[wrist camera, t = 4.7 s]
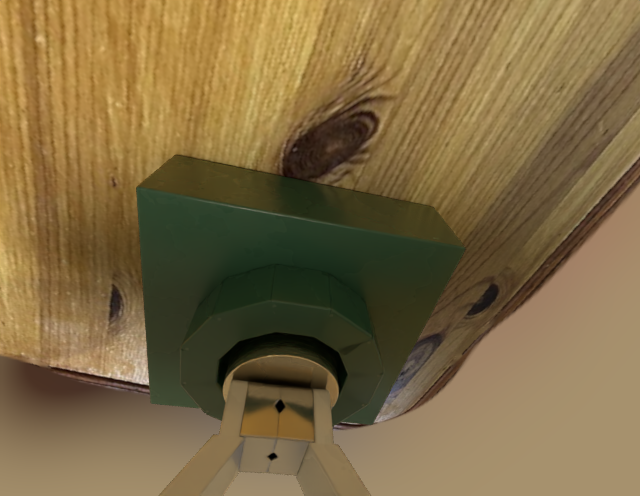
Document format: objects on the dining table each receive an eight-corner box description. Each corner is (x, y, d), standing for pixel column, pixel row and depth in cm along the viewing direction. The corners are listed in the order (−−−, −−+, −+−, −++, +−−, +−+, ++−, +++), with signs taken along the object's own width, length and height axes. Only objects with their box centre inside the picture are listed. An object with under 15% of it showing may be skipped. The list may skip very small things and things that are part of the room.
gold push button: (345, 315, 11) (352, 364, 10) (322, 381, 13) (324, 432, 11) (239, 299, 11) (227, 348, 9) (230, 370, 13) (218, 422, 11)
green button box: (434, 206, 13) (495, 283, 9) (362, 368, 18) (380, 467, 14) (174, 153, 12) (99, 215, 7) (175, 346, 17) (130, 448, 13)
